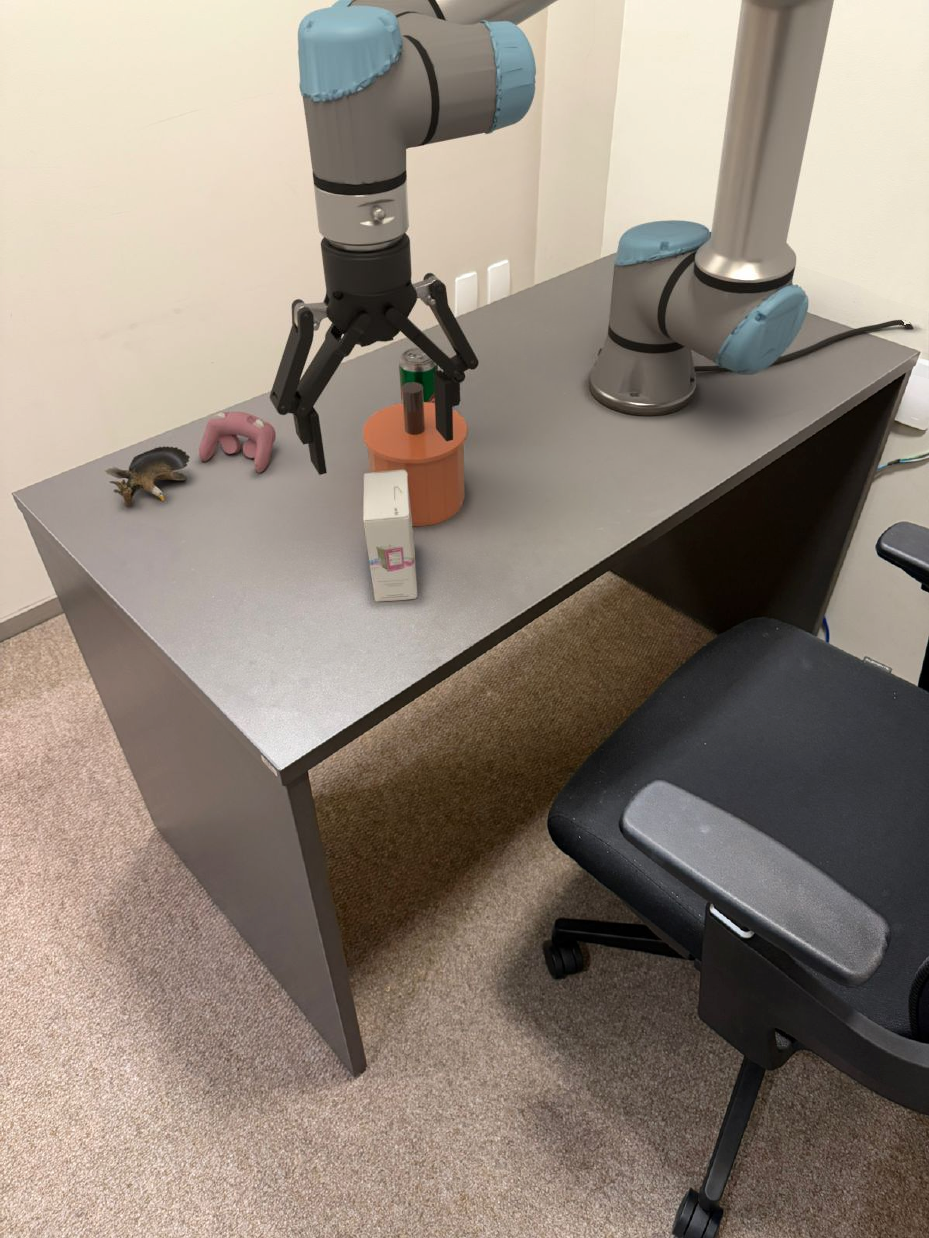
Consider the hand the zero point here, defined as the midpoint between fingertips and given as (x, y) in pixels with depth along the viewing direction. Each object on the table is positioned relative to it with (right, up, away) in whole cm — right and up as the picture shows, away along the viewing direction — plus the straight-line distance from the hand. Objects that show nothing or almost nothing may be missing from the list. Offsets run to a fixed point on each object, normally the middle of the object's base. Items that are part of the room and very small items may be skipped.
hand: (383, 450), depth 87 cm
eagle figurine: (-31, -1, +24) cm, 39 cm away
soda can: (+2, +8, +32) cm, 33 cm away
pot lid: (+2, +5, +15) cm, 16 cm away
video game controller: (-22, +5, +29) cm, 37 cm away
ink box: (0, -12, +12) cm, 17 cm away
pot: (+2, -2, +22) cm, 22 cm away
